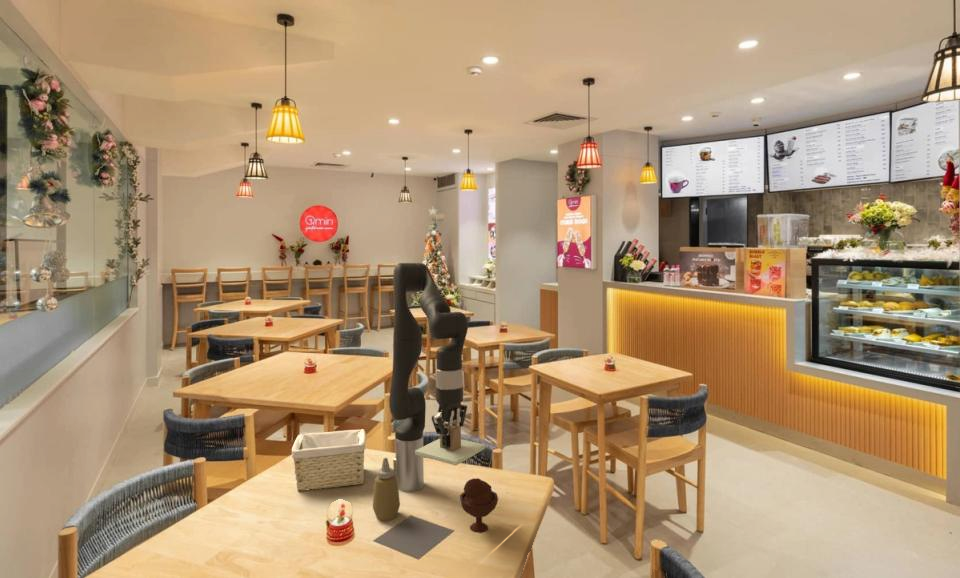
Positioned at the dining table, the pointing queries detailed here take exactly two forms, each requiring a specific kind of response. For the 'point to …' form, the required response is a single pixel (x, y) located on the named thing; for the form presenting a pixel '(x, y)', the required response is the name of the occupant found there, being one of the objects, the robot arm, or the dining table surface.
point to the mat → (414, 536)
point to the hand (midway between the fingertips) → (450, 445)
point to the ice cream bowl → (478, 502)
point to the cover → (451, 448)
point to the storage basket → (329, 459)
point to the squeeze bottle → (386, 493)
